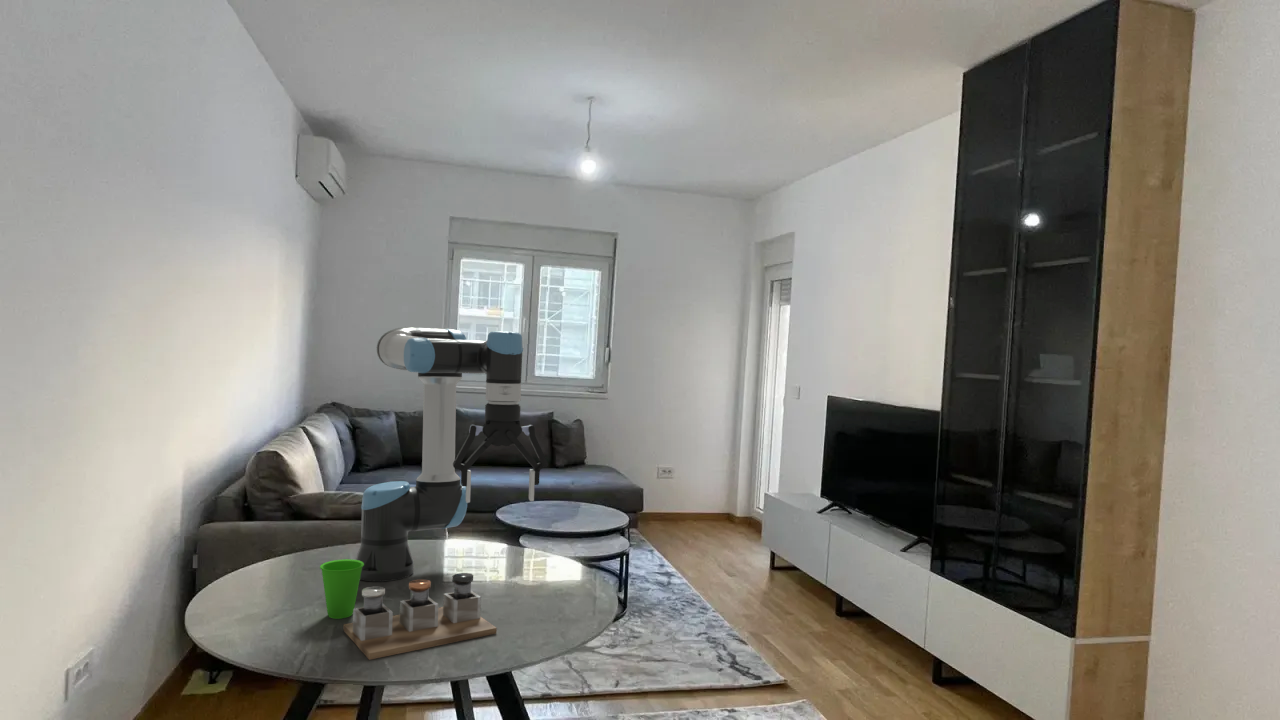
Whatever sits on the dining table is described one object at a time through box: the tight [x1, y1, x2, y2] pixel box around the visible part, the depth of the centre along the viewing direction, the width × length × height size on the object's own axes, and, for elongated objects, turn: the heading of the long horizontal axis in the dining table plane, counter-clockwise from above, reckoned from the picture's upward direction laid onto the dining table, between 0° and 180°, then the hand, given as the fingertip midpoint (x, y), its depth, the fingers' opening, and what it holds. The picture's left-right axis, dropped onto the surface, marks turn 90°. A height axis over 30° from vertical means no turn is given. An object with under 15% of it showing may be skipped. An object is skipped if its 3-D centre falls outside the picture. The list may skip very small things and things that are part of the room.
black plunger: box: [451, 572, 474, 600], centre depth 163 cm, size 4×4×5 cm
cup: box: [319, 558, 364, 620], centre depth 165 cm, size 9×9×11 cm
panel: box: [342, 590, 498, 661], centre depth 156 cm, size 18×26×6 cm
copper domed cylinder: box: [408, 579, 432, 608], centre depth 157 cm, size 4×4×5 cm
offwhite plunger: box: [361, 585, 386, 616], centre depth 152 cm, size 4×4×5 cm
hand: (499, 500), depth 163 cm, fingers open, 13 cm apart
